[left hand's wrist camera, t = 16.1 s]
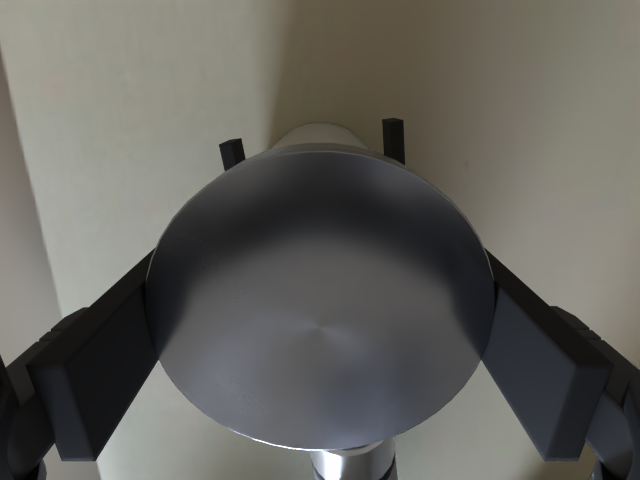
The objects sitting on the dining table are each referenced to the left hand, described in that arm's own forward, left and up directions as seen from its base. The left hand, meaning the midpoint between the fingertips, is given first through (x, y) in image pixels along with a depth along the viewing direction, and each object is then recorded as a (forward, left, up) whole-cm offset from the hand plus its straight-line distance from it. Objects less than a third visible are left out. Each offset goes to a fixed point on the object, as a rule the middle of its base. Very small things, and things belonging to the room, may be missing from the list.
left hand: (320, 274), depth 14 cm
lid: (0, 0, +3) cm, 3 cm away
